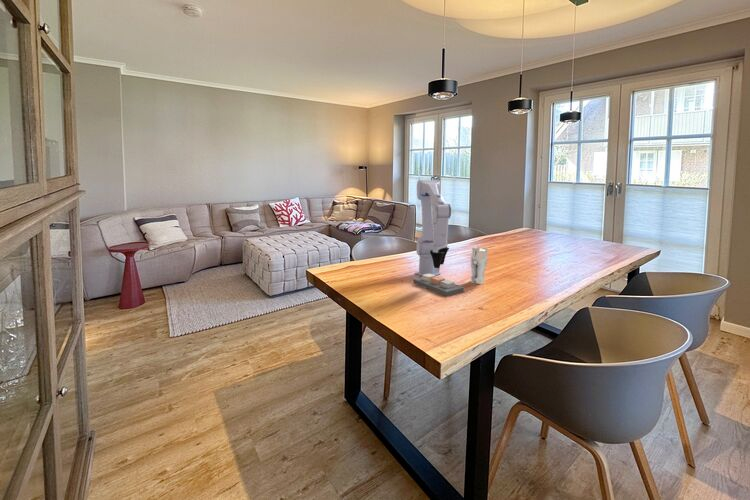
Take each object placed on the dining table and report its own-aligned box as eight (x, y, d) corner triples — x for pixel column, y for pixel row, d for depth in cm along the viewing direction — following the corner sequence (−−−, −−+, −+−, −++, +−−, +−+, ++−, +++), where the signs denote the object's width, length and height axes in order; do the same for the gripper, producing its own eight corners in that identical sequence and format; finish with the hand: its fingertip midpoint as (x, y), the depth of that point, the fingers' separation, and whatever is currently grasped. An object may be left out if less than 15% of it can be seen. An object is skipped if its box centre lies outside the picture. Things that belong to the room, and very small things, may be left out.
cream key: (428, 278, 164) (429, 273, 163) (435, 281, 161) (435, 275, 160) (422, 280, 162) (422, 274, 161) (428, 282, 159) (428, 277, 158)
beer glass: (486, 281, 167) (489, 248, 164) (483, 285, 161) (486, 251, 158) (470, 278, 170) (473, 246, 167) (467, 283, 164) (470, 249, 161)
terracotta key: (437, 282, 160) (438, 276, 159) (444, 284, 156) (444, 278, 156) (431, 283, 157) (431, 277, 157) (437, 286, 154) (438, 280, 154)
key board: (429, 279, 168) (430, 275, 168) (463, 291, 152) (464, 287, 152) (413, 283, 162) (413, 278, 162) (446, 296, 146) (446, 291, 146)
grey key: (447, 285, 155) (447, 279, 155) (454, 288, 152) (454, 282, 152) (440, 287, 153) (440, 281, 152) (447, 289, 150) (447, 283, 149)
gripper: (435, 230, 160) (434, 260, 163) (426, 235, 147) (424, 268, 150) (451, 231, 157) (449, 262, 160) (443, 237, 144) (441, 271, 148)
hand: (438, 266), depth 155 cm, fingers open, 6 cm apart
